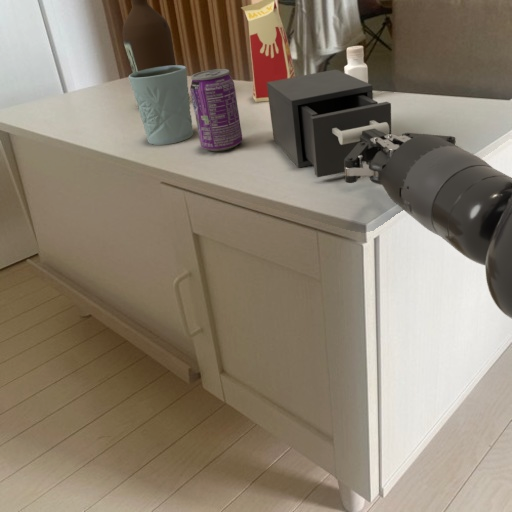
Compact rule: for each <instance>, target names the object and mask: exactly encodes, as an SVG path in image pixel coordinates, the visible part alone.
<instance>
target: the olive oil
mask: <svg viewBox="0 0 512 512" xmlns="http://www.w3.org/2000/svg"><path fill="white" fill-rule="evenodd" d="M130 1H131V6H132V7H131V9H130V11H129V13H128V15H127V17H126V19H125V21H124V23H123V26H122V32H121V33H122V41H123V42H122V43H123V45H124V49H125V52H126V56H127V58H128V62H129V65H130V68H131V74H132V73H134V72H138V71H141V70H145V69H150V68H155V67H162V66H172V65H177V62H176V56H175V51H174V43H173V37H172V30H171V27H170V25H169V23H168V21H167V20H166V18H165V17H164V16H163V15H162V14H160V13H159V11H156V9H154V8H153V7H152V6H150V5H151V4H149V2H148V0H130Z"/></svg>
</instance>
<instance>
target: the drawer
mask: <svg viewBox="0 0 512 512" xmlns="http://www.w3.org/2000/svg"><path fill="white" fill-rule="evenodd" d="M298 114H299V125H300V135H301V145H302V154H303V155H304V156H305V157H306V158H307V159H308V160H309V161H310V162H311V163H312V164H313V165H312V166H313V168H314V175H315V176H316V177H317V178H322V177H326V176H330V175H331V176H332V175H335V174H340V173H345V164H344V159H345V158H346V157H347V155H348V154H349V153H350V152H351V151H352V150H353V148H354V147H355V146H356V145H357V144H358V143H360V135H362V131H364V130H369V129H374V128H375V129H376V130H378V131H380V132H383V133H385V134H387V135H388V134H392V103H391V102H389V101H383V102H378V101H376V100H374V98H373V99H371V98H369V97H366V96H364V95H362V94H360V93H359V94H354V95H349V96H344V97H339V98H334V99H329V100H323V101H318V102H313V103H308V104H303V105H298ZM370 163H371V160H370V161H369V164H370Z"/></svg>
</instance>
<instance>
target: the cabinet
mask: <svg viewBox="0 0 512 512" xmlns="http://www.w3.org/2000/svg"><path fill="white" fill-rule="evenodd" d="M267 89H268V98H269V101H268V106H269V113H270V121H271V130H272V138H273V142H274V143H275V144H276V145H277V146H278V147H279V148H280V149H281V151H282V152H283V153H284V154H285V155H286V156H287V157H288V159H290V160H291V161H292V163H293V164H294V165H295V166H296V167H297V168H298V169H300V168H304V167H310V166H314V165H313V164H312V163H311V162H310V161H309V160H308V159H307V158H306V157H305V156H304V155H303V154H302V145H301V135H300V125H299V114H298V105H303V104H308V103H313V102H318V101H323V100H329V99H334V98H339V97H344V96H349V95H354V94H359V93H360V94H362V95H364V96H366V97H369V98H371V99H373V100H374V89H373V84H371V83H369V82H368V83H366V82H364V81H361V80H359V79H357V78H355V77H352V76H350V75H348V74H346V73H345V72H344V71H341V70H339V69H330V70H326V71H320V72H314V73H309V74H303V75H298V76H295V77H293V78H287V79H282V80H276V81H271V82H267Z"/></svg>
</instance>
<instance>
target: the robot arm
mask: <svg viewBox="0 0 512 512" xmlns="http://www.w3.org/2000/svg"><path fill="white" fill-rule="evenodd" d="M370 160H371V163H370V164H369V161H370ZM344 164H345V172H344V175H345V176H344V177H345V178H344V179H345V183H347V184H354V183H356V182H358V180H359V179H364V178H365V177H368V178H369V180H370V181H371V182H372V183H374V184H377V185H380V186H382V187H383V188H384V190H385V192H386V193H387V195H388V197H389V198H390V200H392V202H394V203H395V204H396V205H397V206H398V207H400V208H401V209H402V210H403V211H404V212H406V213H407V214H408V215H409V216H411V218H413V219H414V220H415V221H416V222H418V223H419V224H420V225H421V226H422V227H424V228H425V229H426V230H428V231H430V232H431V233H433V234H435V235H437V236H438V237H440V238H442V239H443V240H444V241H445V242H447V244H449V245H450V246H452V247H453V248H454V249H455V250H456V251H457V252H459V253H460V254H461V255H463V256H464V257H466V258H467V259H469V260H470V261H472V262H474V263H476V264H479V265H482V266H484V267H485V280H486V285H487V288H488V292H489V294H490V296H491V299H492V301H493V302H494V304H495V305H496V307H497V308H498V309H499V310H500V312H501V313H503V314H504V315H505V316H506V317H508V318H509V319H512V177H511V176H510V175H507V174H506V173H503V171H502V172H501V171H499V170H497V169H496V168H494V167H493V166H492V165H490V164H489V163H488V162H486V161H485V160H484V159H483V158H481V157H479V156H477V155H476V154H473V153H472V152H469V151H468V150H465V149H463V148H462V147H459V145H456V137H455V136H452V135H441V134H428V133H417V132H404V133H402V134H401V135H400V136H398V135H396V134H392V133H391V134H388V135H387V134H385V133H383V132H380V131H378V130H376V129H375V128H374V129H369V130H364V131H362V135H360V143H358V144H357V145H356V146H355V147H354V148H353V150H352V151H351V152H350V153H349V154H348V155H347V157H346V158H345V159H344Z"/></svg>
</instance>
